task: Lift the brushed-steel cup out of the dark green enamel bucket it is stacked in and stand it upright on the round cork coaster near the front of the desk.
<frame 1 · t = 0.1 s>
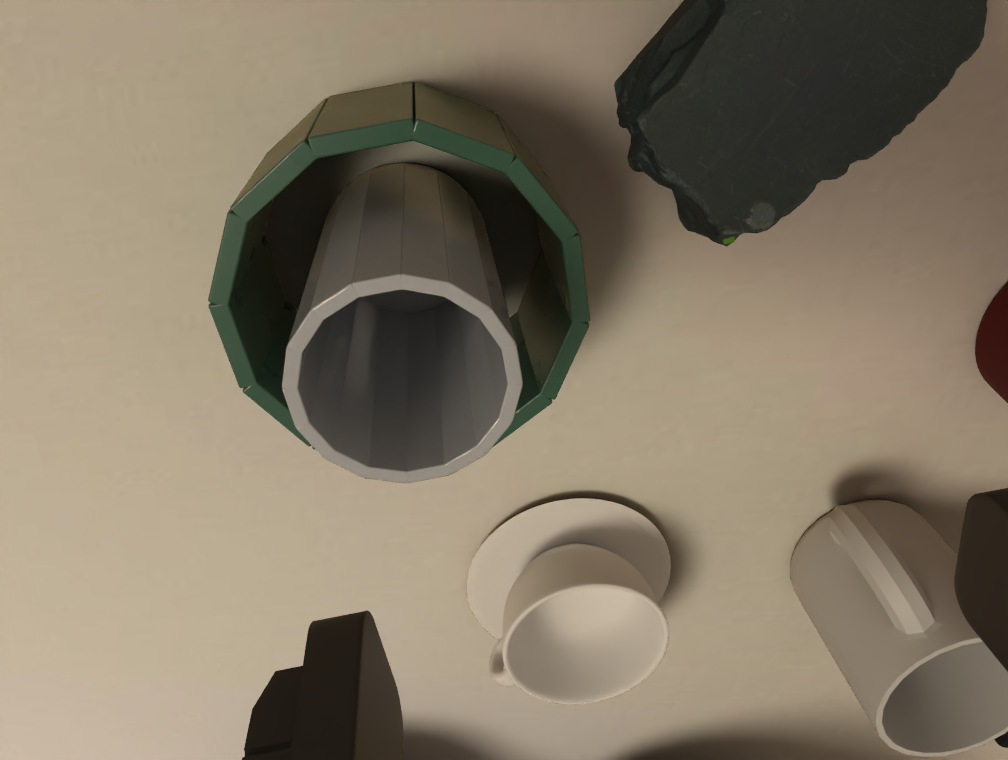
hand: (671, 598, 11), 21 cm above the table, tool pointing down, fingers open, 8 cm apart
cup: (844, 532, 39), on the table
stone: (769, 61, 28), on the table
teacup: (566, 571, 39), on the table
steel cup: (405, 301, 25), in the bucket
bucket: (406, 243, 30), on the table
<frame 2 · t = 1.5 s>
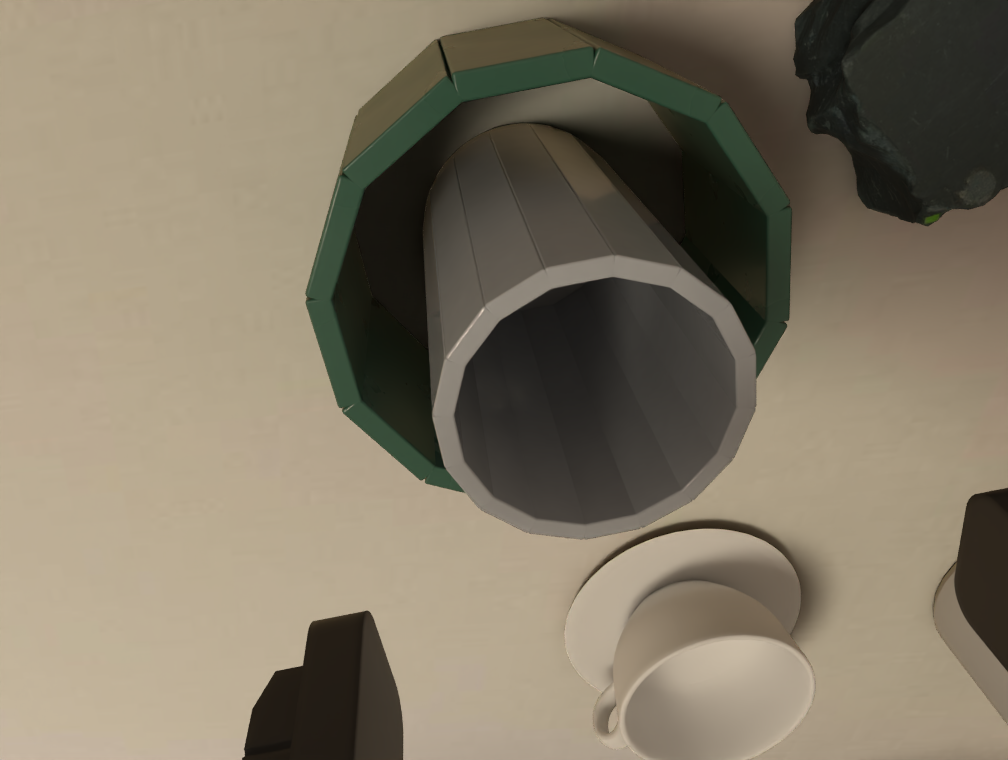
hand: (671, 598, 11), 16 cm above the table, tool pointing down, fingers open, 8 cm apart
cup: (997, 563, 34), on the table
teacup: (678, 610, 33), on the table
steel cup: (551, 295, 19), in the bucket
bucket: (522, 224, 24), on the table
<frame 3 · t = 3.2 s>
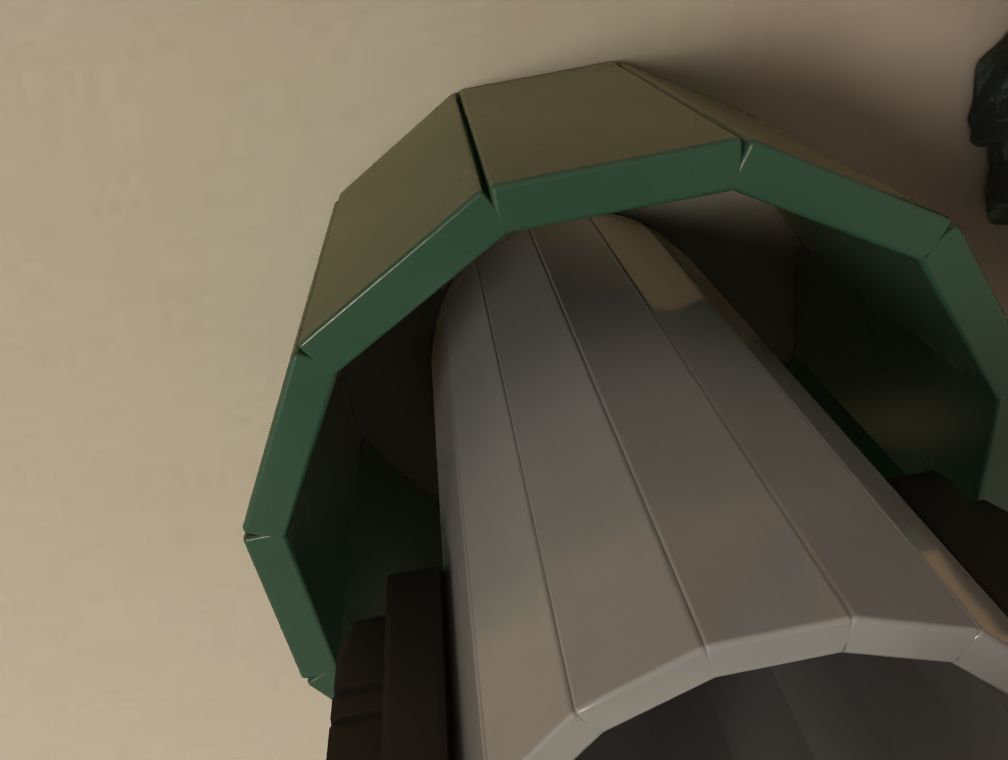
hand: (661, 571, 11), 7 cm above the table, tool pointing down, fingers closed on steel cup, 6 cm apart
steel cup: (634, 499, 12), in the bucket, touching gripper
bucket: (571, 343, 17), on the table
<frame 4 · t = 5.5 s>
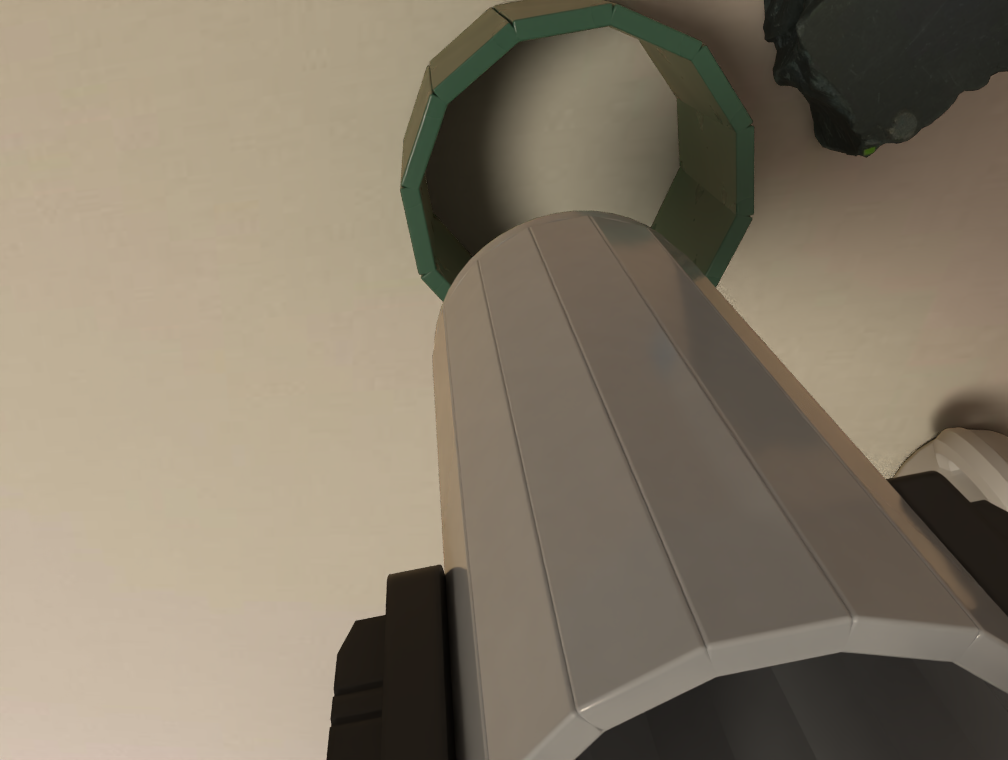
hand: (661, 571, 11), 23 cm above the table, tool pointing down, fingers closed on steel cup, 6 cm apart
cup: (941, 463, 40), on the table
steel cup: (634, 499, 12), point 21 cm above the table, touching gripper
bucket: (552, 155, 31), on the table
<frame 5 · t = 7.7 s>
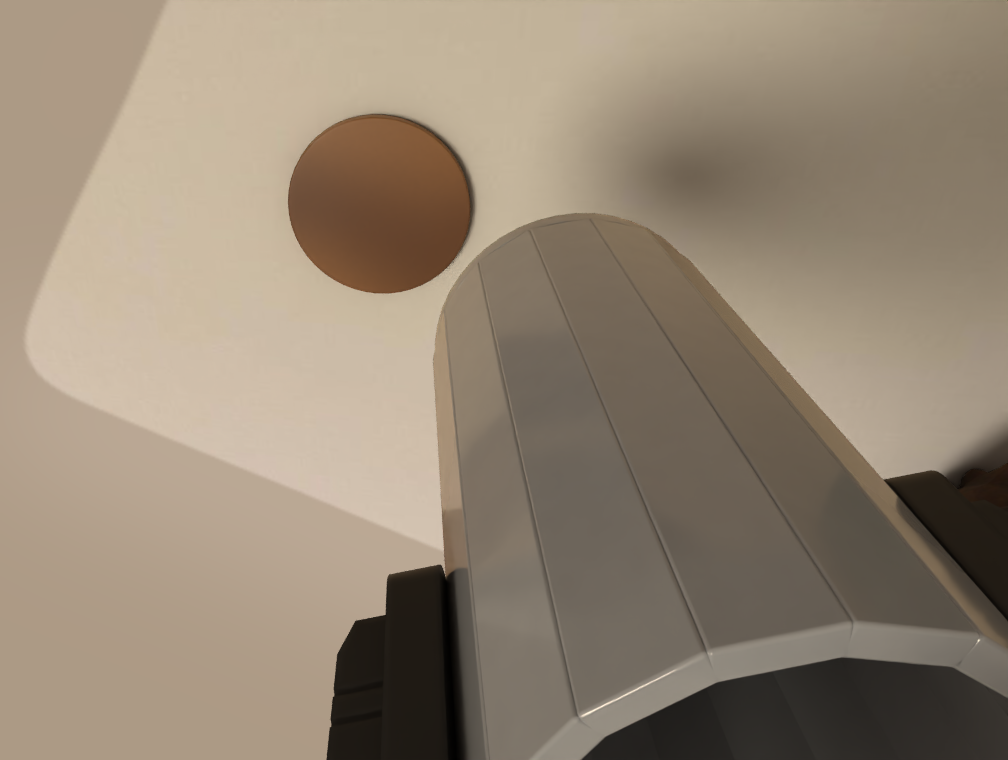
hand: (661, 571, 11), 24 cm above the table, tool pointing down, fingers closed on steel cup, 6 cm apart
sculpture: (952, 505, 44), on the table
coaster: (381, 206, 32), on the table
steel cup: (635, 502, 12), point 22 cm above the table, touching gripper
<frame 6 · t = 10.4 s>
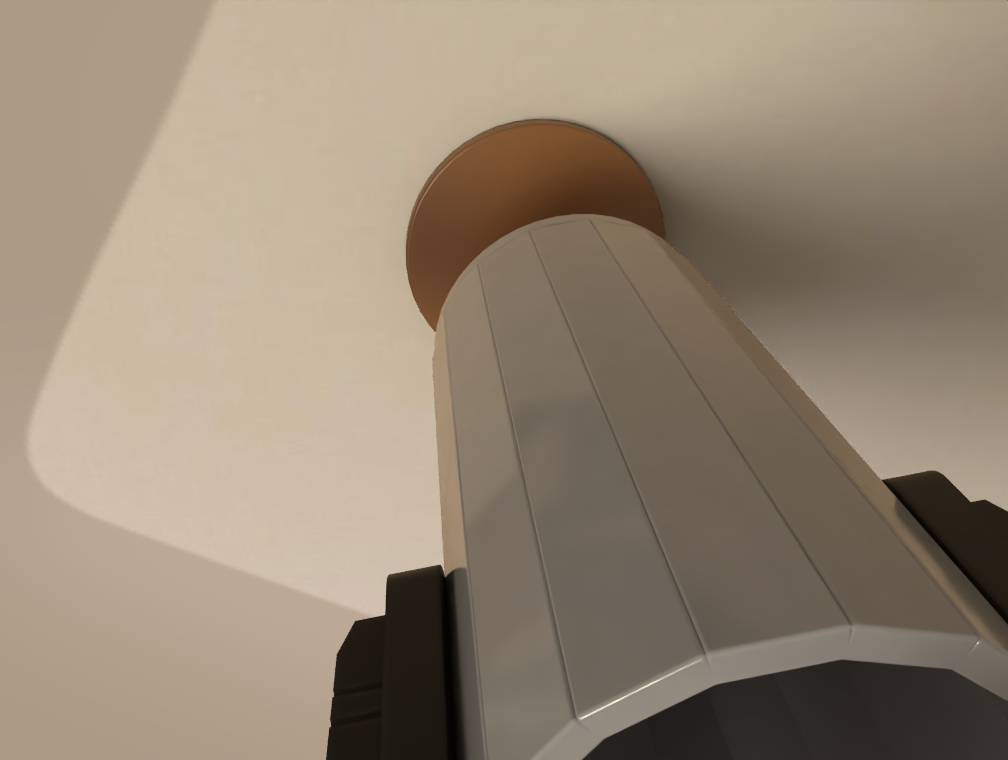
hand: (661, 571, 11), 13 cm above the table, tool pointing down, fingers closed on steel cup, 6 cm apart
coaster: (534, 251, 22), on the table
steel cup: (634, 503, 12), point 11 cm above the table, touching gripper
when the fingers open (8 cm above the table, at t = 12.2 s): steel cup stays where it is, resting on coaster.
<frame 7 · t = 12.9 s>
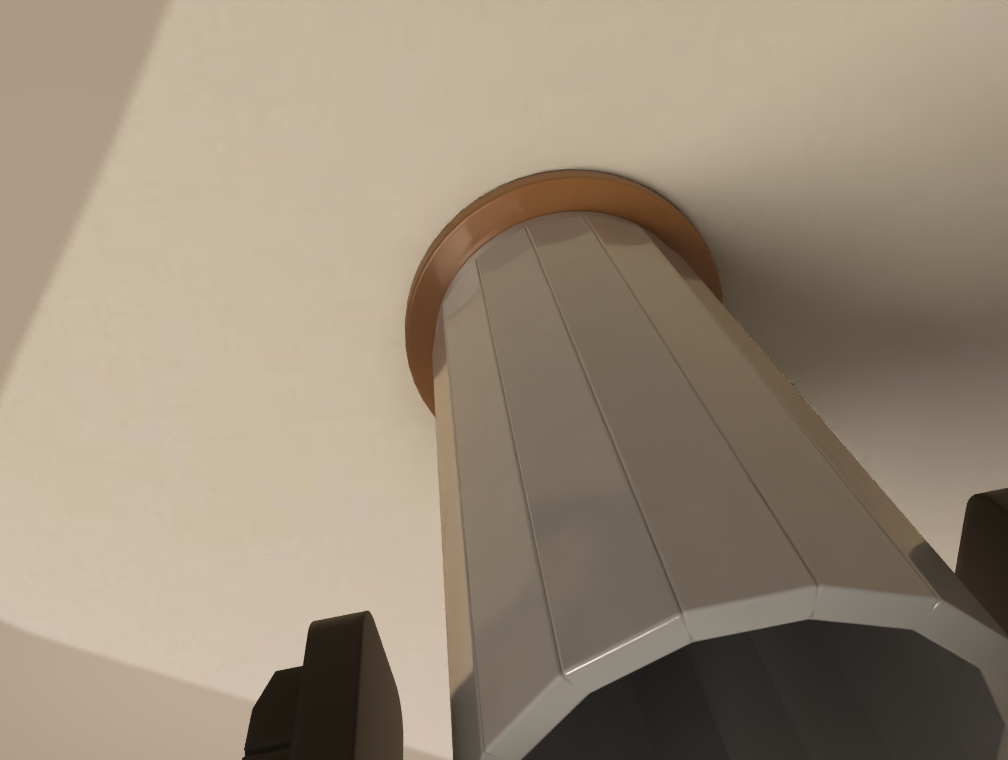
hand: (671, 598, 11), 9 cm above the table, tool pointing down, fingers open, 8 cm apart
coaster: (562, 326, 18), on the table
steel cup: (626, 488, 13), on the coaster, point 6 cm above the table
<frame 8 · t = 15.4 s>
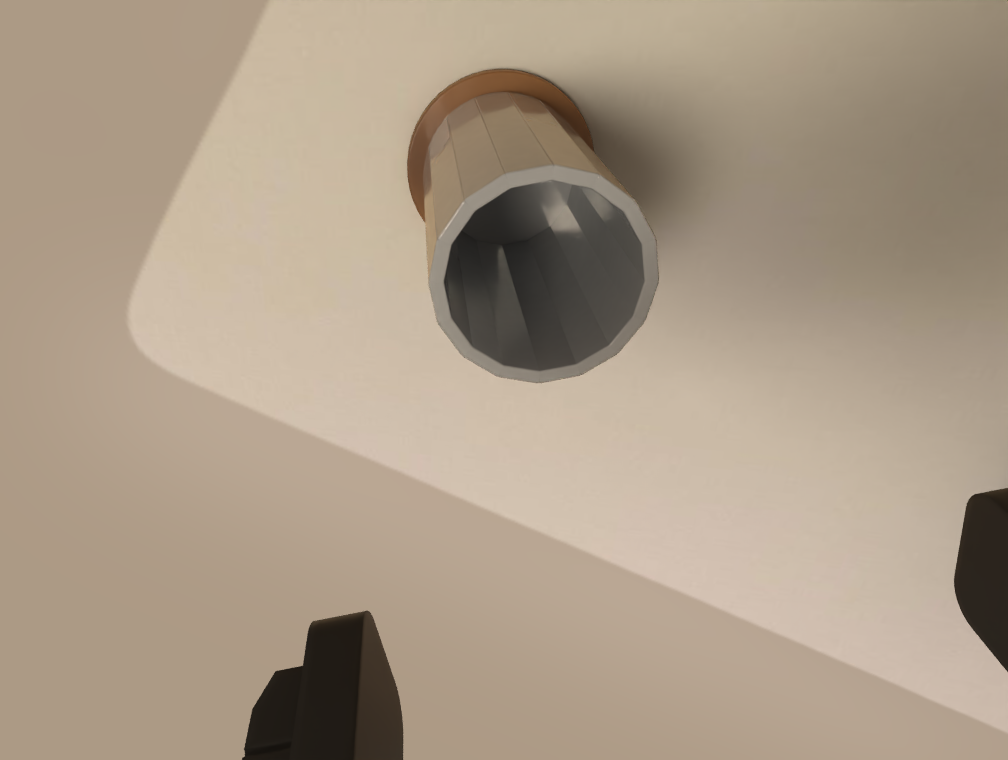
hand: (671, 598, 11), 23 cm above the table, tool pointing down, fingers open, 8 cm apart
coaster: (500, 167, 31), on the table
steel cup: (520, 217, 25), on the coaster, point 6 cm above the table
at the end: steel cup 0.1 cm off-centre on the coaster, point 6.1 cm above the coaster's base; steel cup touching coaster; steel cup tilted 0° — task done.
